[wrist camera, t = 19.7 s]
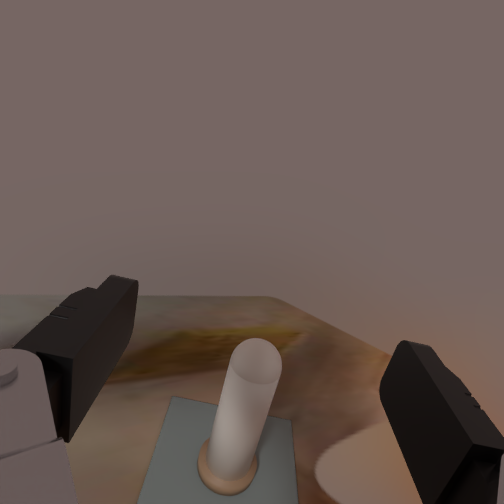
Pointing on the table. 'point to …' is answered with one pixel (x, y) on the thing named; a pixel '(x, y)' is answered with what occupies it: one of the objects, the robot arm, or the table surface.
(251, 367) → the skittle
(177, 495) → the mat
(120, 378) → the table surface
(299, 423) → the table surface
